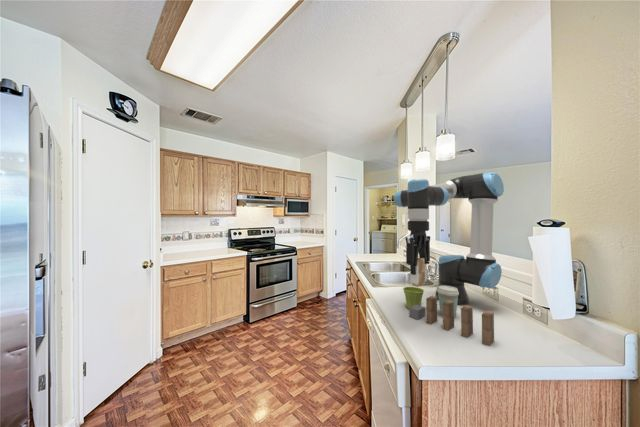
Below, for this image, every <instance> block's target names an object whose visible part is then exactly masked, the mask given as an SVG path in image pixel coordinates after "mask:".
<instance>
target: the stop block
mask: <svg viewBox="0 0 640 427" xmlns="http://www.w3.org/2000/svg"><path fill="white" fill-rule="evenodd" d="M408 311H409V312H408V314H409V315H408V317H409V318H412V319H414V320H416V319H417V321H419V320H421V319H423V318H425V317H426V306H423V305H421V306H420V305H414V306H412V307H409V308H408Z"/></svg>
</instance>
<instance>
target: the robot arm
mask: <svg viewBox="0 0 640 427" xmlns="http://www.w3.org/2000/svg"><path fill="white" fill-rule="evenodd" d="M406 188H407V189H405V190H399V191H396V192H395V194H394V195H393V203H394V204H395V206H396V207H399V208H407V219H408V221H407V230H408V231H410V234H409V236H408V237H405V243H406V246H405V249H406V252H405V254H406V256H405V257H406V258H405V261H406V265H408V266H410V283H411V284H413V283H415V284H418V266H417V260H418V258H424V260H425V282H427V276H428V275H427V265H430V262H431V246H430V243H431V236H430V235H427V232H428V231H430V222H429V220H430V206H431V207H432V206H435V207H437V206H438V207H440V206H441V207H442V206H444V205H446V204H447V203H448V201H449V200H451V199H468V202H469V203H470V204H471V213H470V214H471V219H470V246H469V253H468V254H467V255H466V256H464V255H461V254H449V255H447V254H446V255H440V256H439V258H438V285H437V288H436V290H435V297H437V301H439V298H438V292H437V289H438V287H439V286H451V287H455V288H457V289H458V292H459V295H458V302H457V306H458V305H459V306H460V305H461V306H463V305H468V304H469V301H470V300H469V296H468V292H467V290H466V287H465V284H468V285H473V286H478V287H480V288H487V289H493V288H495V287H496V286H497V285H498V284H499V282H500V280H501V278H502V274H503V272H502V267H501V265H500V264H499V263H497V259H496V258H495V257H494V256H493V235H494V234H493V233H494V229H493V228H494V227H493V226H494V205H495V204H496V203H497V202H498V197H501V196H503V195H504V191H505V188H504V182H503V179H502V178H501V176H500V175H499V174H498V173H497V172H494V171H491V172H490V171H489V172H481V173H476V174H468V175H462V176H459V177H454V178H452V179H448V180H444V181H442V182H441V183H438V184H432V185H430V183H429V180H428V179H426V178H417V179H416V178H415V179H411V180H409V181H407V187H406Z"/></svg>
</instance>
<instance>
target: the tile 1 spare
mask: <svg viewBox="0 0 640 427" xmlns="http://www.w3.org/2000/svg"><path fill="white" fill-rule="evenodd" d="M417 266H418V284H415V283H412V287H417V288H420V287H422V286H425V284H426V283H425V260H424V258H419V257H418V260H417Z"/></svg>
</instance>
